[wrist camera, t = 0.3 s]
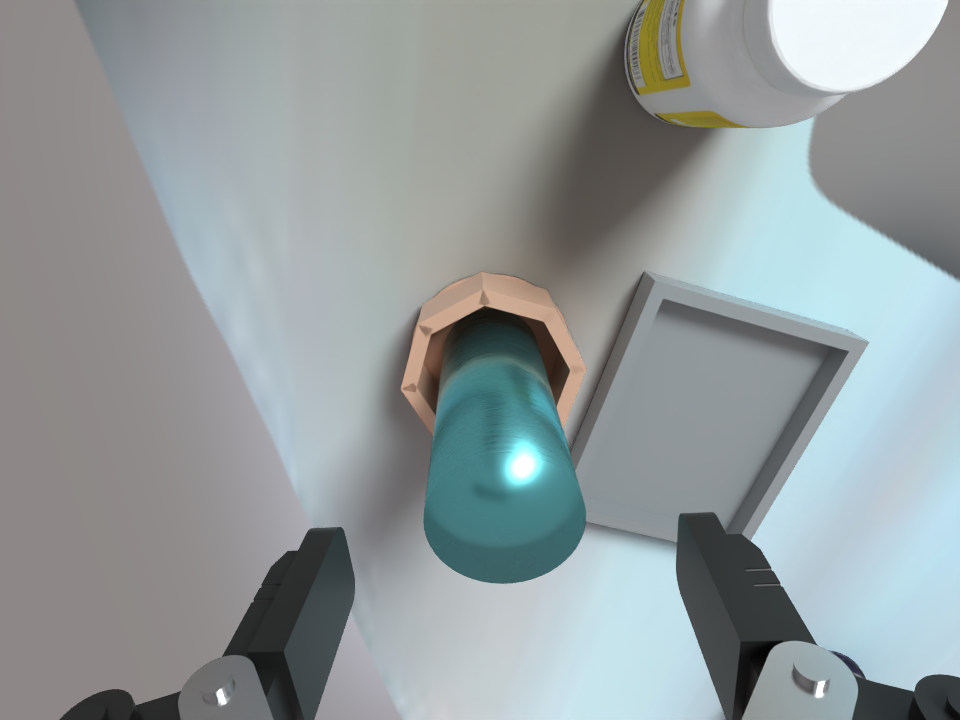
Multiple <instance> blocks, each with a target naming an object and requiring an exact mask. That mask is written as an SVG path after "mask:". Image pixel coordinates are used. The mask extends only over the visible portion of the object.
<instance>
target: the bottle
mask: <svg viewBox="0 0 960 720" xmlns="http://www.w3.org/2000/svg"><path fill="white" fill-rule="evenodd" d="M585 524H586V509H585V503H584V500H583V496H582V493H581V490H580V486H579V483H578V479H577V476H576V472H575V469H574V466H573V462H572V459H571V455H570V452H569V448H568V445H567V442H566V438H565V435H564V431H563V428H562V424H561V421H560V418H559V414H558V411H557V407H556V404H555V401H554V397H553V394H552V390H551V387H550V383H549V380H548V377H547V373H546V370H545V366H544V363H543V359H542V356H541V353H540V349H539V346H538V342H537V339H536V336H535V334H534V332H533V330H532V329H531V327H530V326H529V325H528V324H527V323H526V322H525V321H524V320H523V319H522V318H521V317H519V316H518V315H516V314H514V313H510V312H506V311H503V310H499V309H495V308H489V309H481V310H477V311H474V312H472V313H470V314H468V315H466V316H464V317H463V318H461V319H460V320H459V321H458V322H457V323H456V324H455V325H454V326H453V327H452V329H451V330H450V331H449V333H448V335H447V338H446V340H445V344H444V350H443V359H442V367H441V375H440V384H439V392H438V400H437V409H436V417H435V426H434V434H433V442H432V451H431V459H430V467H429V476H428V484H427V492H426V501H425V509H424V530H425V533H426V537H427V540H428V542H429V544H430V546H431V548H432V549H433V551H434V552H435V554H436V555H437V556H438V557H439V558H440V560H442V561H443V562H444V563H445V564H446V565H447V566H448V567H450V568H451V569H453V570H454V571H456V572H458V573H460V574H462V575H464V576H466V577H469V578H472V579H475V580H478V581H482V582H489V583H500V584H504V583H517V582H523V581H527V580H531V579H534V578H537V577H539V576H542V575H544V574H546V573H548V572H550V571H552V570H553V569H555V568H556V567H558V566H559V565H560V564H562V563H563V562H564V561H565V560H566V559H567V558H568V557H569V556H570V555H571V554H572V553H573V551H574V550H575V549H576V547H577V546H578V544H579V542H580V540H581V538H582V535H583V533H584V529H585Z"/></svg>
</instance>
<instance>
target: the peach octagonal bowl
mask: <svg viewBox="0 0 960 720" xmlns="http://www.w3.org/2000/svg"><path fill="white" fill-rule="evenodd" d="M489 308H495V309H499V310H503V311H506V312H510V313H514V314H516V315H518V316H519V317H521V318H522V319H523V320H524V321H525V322H526V323H527V324H528V325H529V326H530V327H531V329H532V330H533V332H534V334H535V336H536V339H537V342H538V346H539V349H540V353H541V356H542V359H543V363H544V366H545V370H546V373H547V377H548V380H549V383H550V387H551V390H552V394H553V397H554V401H555V404H556V407H557V411H558V414H559V418H560V421H561V424H562V428H564V425H565V423H566V420H567V418H568V415H569V413H570V410H571V408H572V405H573V403H574V400H575V397H576V395H577V392H578V390H579V387H580V385H581V382H582V380H583V377H584V375H585V372H586V370H587V368H586V366H585V364H584V362H583V360H582V357H581V355H580V353H579V351H578V349H577V346H576V344H575V342H574V340H573V339H572V337H571V335H570V333H569V331H568V328H567V325H566V322H565V320H564V318H563V315H562V313H561V312H560V310H559V309H558V307H557V305H556V304H555V303H554V302H553V300H552V298H551V297H550V295H549V293H548V291H547V289H543V288H540V287H536V286H535V285H533V284H531V283H529V282H527V281H525V280H523V279H520V278H517V277H514V276H510V275H505V274H494V273H491V274H489V273H486V272H482V271H481V272H480V273H478V274H476V275H473V276H469V277H466V278H463V279H460V280H458V281H456V282H454V283H452V284H450V285H448V286H447V287H445V288H444V289H442V290H441V291H440V292H439V293H437V294H436V295H435V296H434V297H433V298H432V299H430V300H428V301H426V302H425V303H423V304H422V308H421V312H420V316H419V318H418V320H417V323H416V326H415V329H414V332H413V337H412V343H411V351H410V355H409V359H408V362H407V366H406V370H405V374H404V378H403V382H402V386H401V390H402V392H403V393H404V395H405V396H406V398H407V399H408V401H409V402H410V404H411V405H412V407H413V408H414V410H415V411H416V412H417V414H418V415H419V417H420V418H421V420H422V421H423V423H424V424H425V426H426V427H427V429H428V430H429V432H430V433H431V434H432V436H433V434H434V426H435V417H436V409H437V400H438V392H439V384H440V375H441V367H442V359H443V350H444V344H445V340H446V338H447V335H448V333H449V331H450V330H451V329H452V327H453V326H454V325H455V324H456V323H457V322H458V321H459V320H460V319H461V318H463V317H464V316H466V315H468V314H470V313H472V312H474V311H477V310H481V309H489Z"/></svg>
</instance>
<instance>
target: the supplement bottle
mask: <svg viewBox="0 0 960 720" xmlns="http://www.w3.org/2000/svg"><path fill="white" fill-rule="evenodd" d="M947 3H948V0H641V2H640V4H639V5H638V7H637V9H636V11H635V13H634V15H633V17H632V19H631V22H630V25H629V28H628V31H627V36H626V41H625V52H624V60H625V70H626V75H627V79H628V82H629V85H630V88H631V90H632V92H633V94H634V96H635V97H636V99H637V100H638V102H639V103H640V104H641V106H642V107H643V108H644V109H645V110H646V111H647V112H649V113H650V114H651V115H653V116H654V117H656V118H657V119H659V120H661V121H663V122H666V123H669V124H672V125H677V126H683V127H727V128H771V127H779V126H786V125H790V124H794V123H797V122H800V121H804V120H806V119H809V118H811V117H813V116H815V115H817V114H819V113H821V112H823V111H824V110H826V109H828V108H829V107H831V106H832V105H834V104H835V103H836V102H838V101H839V100H840V99H842V97H844V96H845V95H846V94H849V93H854V92H858V91H862V90H864V89H867V88H870V87H872V86H874V85H877V84H879V83H881V82H883V81H884V80H886V79H887V78H889V77H890V76H892V75H893V74H895V73H896V72H898V71H899V70H900V69H902V68H903V67H904V66H905V65H906V64H907V63H908V62H909V61H910V60H911V59H912V58H913V57H914V56H915V55H916V54H917V53H918V52H919V51H920V50H921V49H922V47H923V46H924V45H925V44H926V42H927V41H928V40H929V38H930V37H931V35H932V34H933V32H934V30H935V29H936V27H937V25H938V23H939V22H940V20H941V17H942V15H943V13H944V10H945V8H946V6H947Z"/></svg>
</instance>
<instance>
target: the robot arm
mask: <svg viewBox="0 0 960 720" xmlns="http://www.w3.org/2000/svg"><path fill="white" fill-rule="evenodd" d="M676 574H677V581H678V586H679V590H680V594H681V597H682V599H683V602H684V605H685V607H686V610H687V613H688V616H689V618H690V621H691V624H692V627H693V629H694V632H695V635H696V638H697V640H698V643H699V646H700V649H701V651H702V654H703V657H704V659H705V662H706V665H707V668H708V670H709V673H710V676H711V679H712V681H713V684H714V687H715V690H716V692H717V695H718V698H719V700H720V703H721V706H722V709H723V711H724V714H725V717H726V720H960V678H959V677H955V676H950V675H941V674H940V675H930V676H926V677H924V678H922V679H921V680H920V681H919V682H918V683H917V685H916V687H915V690H914V692H913V691H909V690H905V689H901V688H897V687H892V686H888V685H884V684H880V683H876V682H872V681H869V680H866V679H863V678H860V677H858V676H856V675H854V674H853V673H852V672H851V670H850V669H849V668H848V666H847V665H846V664H845V663H844V662H843V661H842V660H841V659H839V658H838V657H837V656H835V655H834V654H833V653H831V652H829V651H828V650H826V649H824V648H822V647H820V646H818V645H817V644H816V642H815V641H814V639H813V637H812V636H811V634H810V632H809V630H808V629H807V627H806V625H805V624H804V622H803V620H802V619H801V617H800V615H799V614H798V612H797V610H796V609H795V607H794V605H793V604H792V602H791V600H790V598H789V597H788V595H787V593H786V592H785V590H784V588H783V587H781V585H780V582H779V580H778V578H777V577H776V575H775V573H774V572H773V571H772V570H771V566H770V565H769V563H768V561H767V560H766V558H765V556H764V555H763V553H762V551H761V550H760V549H759V548H758V547H757V546H756V545H754V544H753V543H752V542H751V541H750V540H748V539H747V538H746V537H745V536H743V535H742V534H726V532H725V530H724V528H723V526H722V525H721V523H720V521H719V519H718V517H717V515H716V514H715V513H714V512H699V513H681V514H680V515H679V518H678V535H677V555H676ZM354 594H355V578H354V572H353V568H352V563H351V559H350V554H349V550H348V546H347V541H346V537H345V533H344V530H343V529H342V528H341V527H332V528H311V529H309V531H308V532H307V534H306V536H305V538H304V540H303V542H302V544H301V546H300V548H299V550H298V551H287V552H286V553H285V554H284V555H283V556H282V557H281V558H280V559H279V560H278V561H277V562H276V563H275V564H274V565H273V566H272V567H271V568H270V570H269V572H268V574H267V575H266V577H265V579H264V581H263V583H262V587H261V588H260V589H259V590H258V592H257V594H256V596H255V598H254V602H253V603H251V605H250V607H249V609H248V610H247V612H246V614H245V616H244V618H243V619H242V621H241V623H240V625H239V627H238V629H237V630H236V632H235V634H234V636H233V638H232V640H231V642H230V643H229V645H228V647H227V649H226V651H225V652H224V654H223V656H222V657H221V658H218V659H215V660H213V661H211V662H209V663H208V664H206V665H204V666H203V667H201V668H200V669H199V670H198V671H196V672H195V673H194V674H193V675H192V676H191V677H190V678H189V680H188V681H187V682H186V684H185V685H184V687H183V689H182V690H181V691H180V692H177V693H174V694H171V695H168V696H165V697H161V698H158V699H155V700H152V701H148V702H145V703H142V704H139V705H135V703H134V701H133V699H132V697H131V695H130V694H129V693H128V692H126V691H124V690H119V689H112V690H106V691H103V692H99V693H97V694H94V695H92V696H90V697H88V698H86V699H84V700H83V701H81V702H80V703H78V704H77V705H76V706H74V707H73V708H71V709H70V710H69V711H68V712H67V713H66V714H65V715H63V717H62V718H61V719H60V720H314V719H315V715H316V713H317V710H318V707H319V704H320V700H321V697H322V694H323V691H324V688H325V685H326V682H327V679H328V676H329V673H330V670H331V667H332V664H333V661H334V658H335V655H336V652H337V649H338V646H339V643H340V640H341V637H342V634H343V631H344V628H345V625H346V622H347V619H348V616H349V613H350V610H351V607H352V604H353V600H354Z"/></svg>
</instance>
